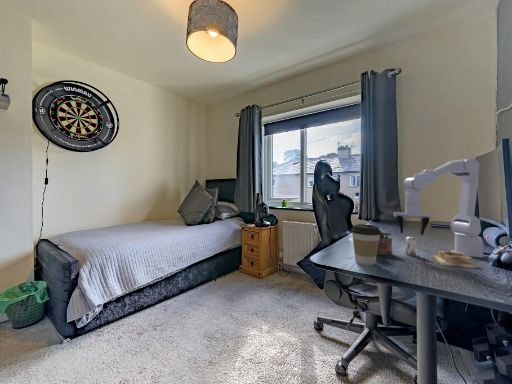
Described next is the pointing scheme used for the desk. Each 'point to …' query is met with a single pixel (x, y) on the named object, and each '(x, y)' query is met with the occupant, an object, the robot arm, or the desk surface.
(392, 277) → the desk surface
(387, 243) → the hip flask
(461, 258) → the dock socket
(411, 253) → the spigot peg
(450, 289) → the desk surface
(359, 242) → the coffee cup
